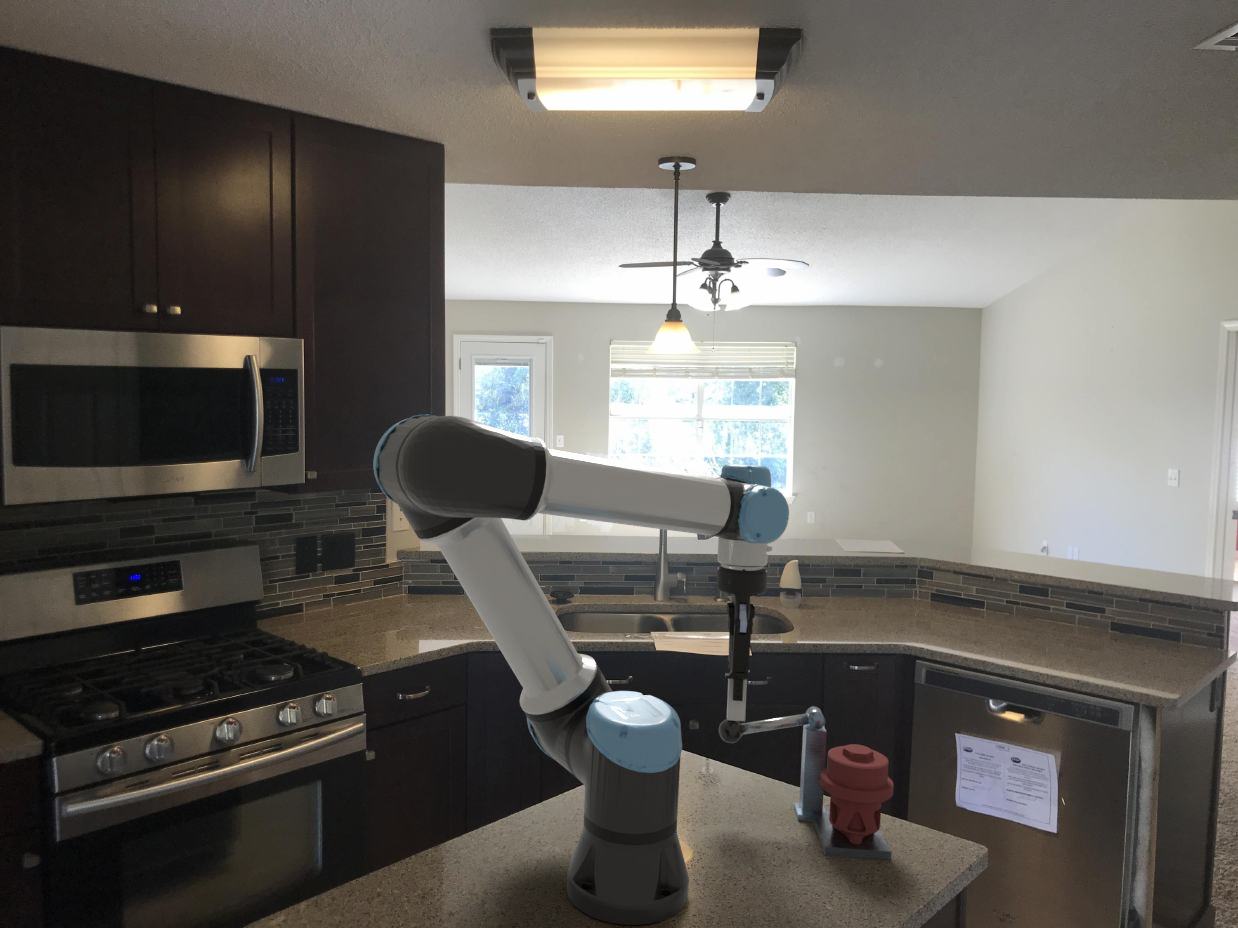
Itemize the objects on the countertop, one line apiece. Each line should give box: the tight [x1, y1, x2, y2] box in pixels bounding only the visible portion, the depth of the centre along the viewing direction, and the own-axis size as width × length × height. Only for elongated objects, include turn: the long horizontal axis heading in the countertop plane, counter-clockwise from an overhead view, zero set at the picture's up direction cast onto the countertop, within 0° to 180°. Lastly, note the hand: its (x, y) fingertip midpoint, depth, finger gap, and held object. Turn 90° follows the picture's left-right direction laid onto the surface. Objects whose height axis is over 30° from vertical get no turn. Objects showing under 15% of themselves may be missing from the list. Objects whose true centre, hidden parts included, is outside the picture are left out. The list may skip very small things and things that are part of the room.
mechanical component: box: [820, 743, 894, 845], centre depth 120 cm, size 12×10×10 cm
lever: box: [718, 706, 826, 744], centre depth 128 cm, size 16×4×4 cm, turn 86°
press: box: [793, 724, 893, 861], centre depth 123 cm, size 11×15×14 cm
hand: (735, 718), depth 129 cm, fingers closed
